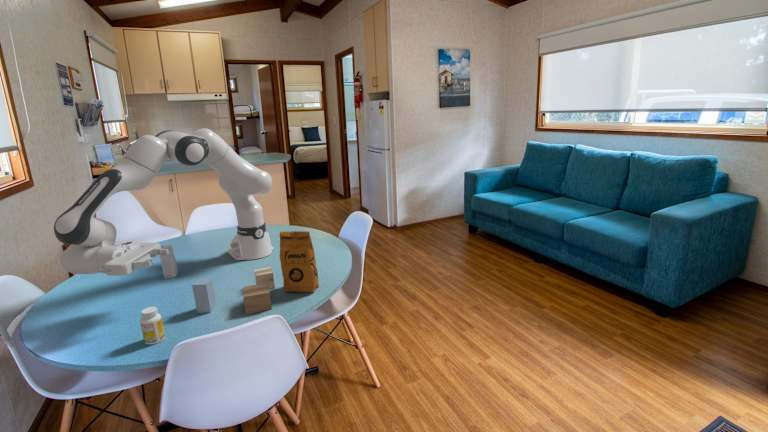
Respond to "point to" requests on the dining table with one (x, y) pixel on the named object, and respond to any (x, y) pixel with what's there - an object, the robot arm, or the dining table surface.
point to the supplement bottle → (152, 326)
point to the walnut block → (257, 298)
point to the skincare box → (169, 263)
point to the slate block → (204, 295)
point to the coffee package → (298, 262)
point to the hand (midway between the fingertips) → (159, 257)
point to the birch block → (264, 276)
